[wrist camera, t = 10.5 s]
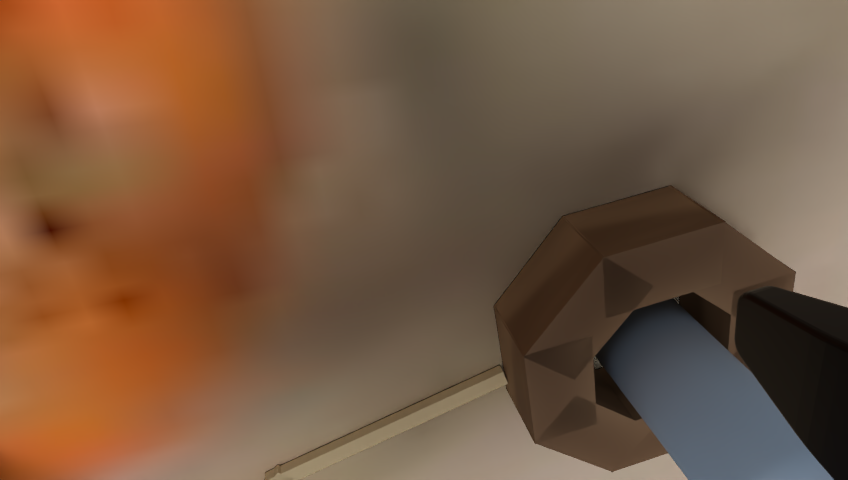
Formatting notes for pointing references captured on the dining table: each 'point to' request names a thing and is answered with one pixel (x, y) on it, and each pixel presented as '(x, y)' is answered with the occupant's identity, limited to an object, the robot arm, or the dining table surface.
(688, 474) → the tapered blue cylinder
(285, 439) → the dining table surface
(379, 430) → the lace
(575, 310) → the bead
